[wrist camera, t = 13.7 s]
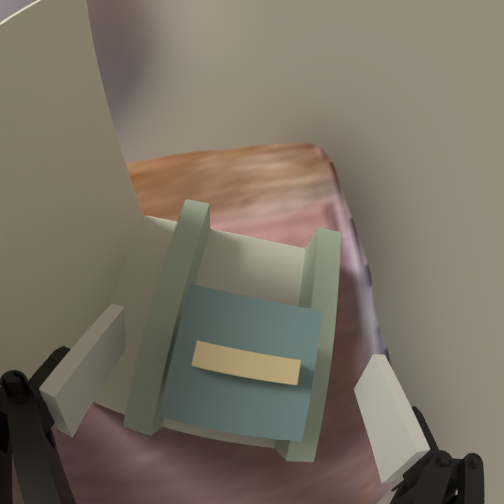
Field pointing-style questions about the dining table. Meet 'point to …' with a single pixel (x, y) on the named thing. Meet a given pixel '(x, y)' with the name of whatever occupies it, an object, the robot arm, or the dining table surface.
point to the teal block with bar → (242, 365)
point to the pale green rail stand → (119, 235)
